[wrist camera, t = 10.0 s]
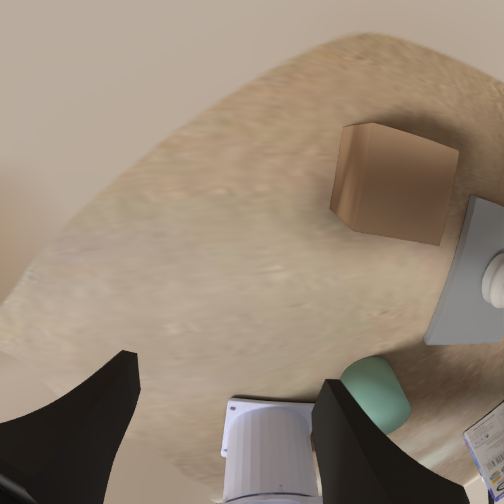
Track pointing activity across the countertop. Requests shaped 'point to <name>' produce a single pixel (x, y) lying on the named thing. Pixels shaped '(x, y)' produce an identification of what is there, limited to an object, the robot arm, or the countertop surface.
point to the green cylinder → (377, 392)
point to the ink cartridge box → (489, 450)
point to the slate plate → (471, 282)
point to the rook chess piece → (494, 282)
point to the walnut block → (393, 183)
